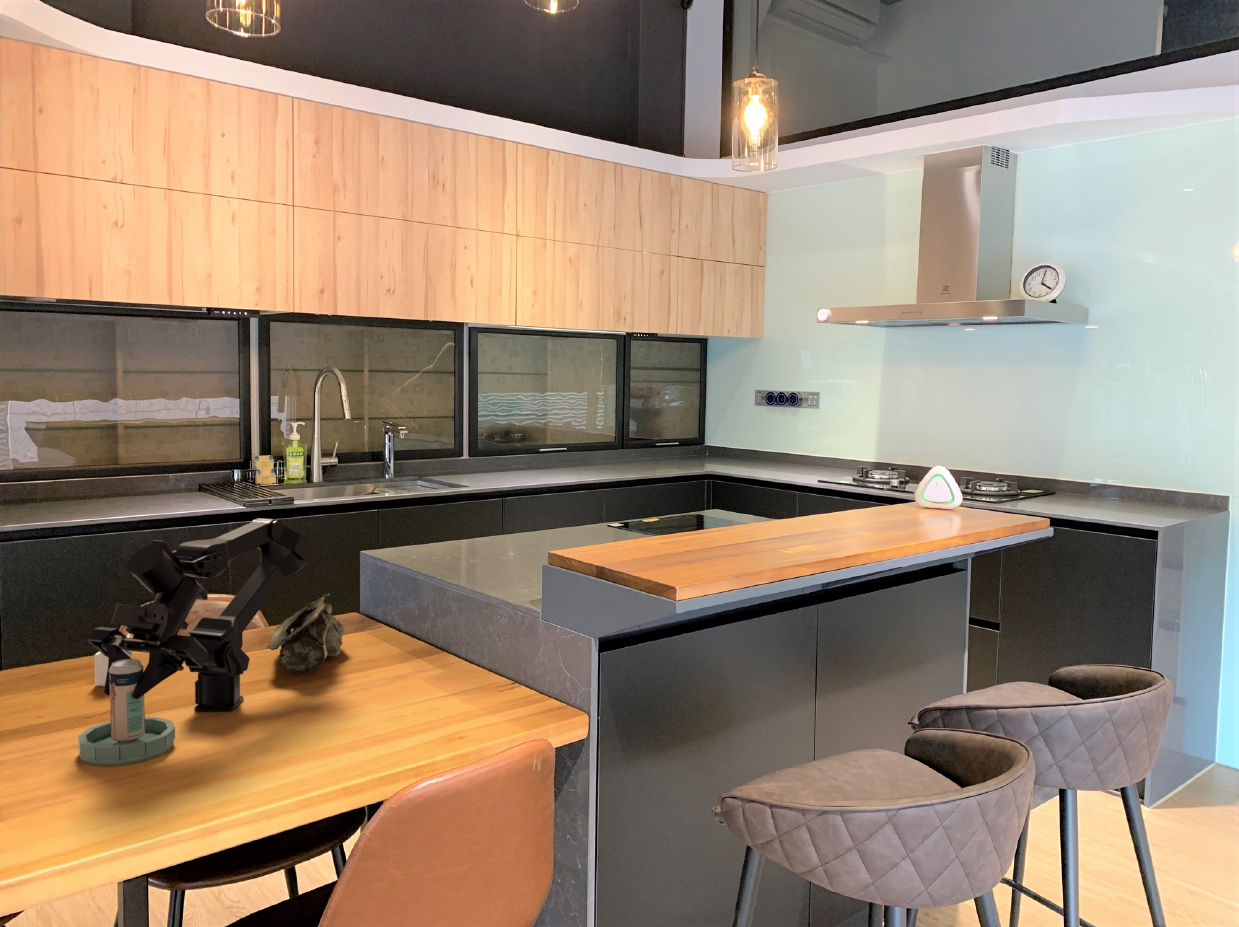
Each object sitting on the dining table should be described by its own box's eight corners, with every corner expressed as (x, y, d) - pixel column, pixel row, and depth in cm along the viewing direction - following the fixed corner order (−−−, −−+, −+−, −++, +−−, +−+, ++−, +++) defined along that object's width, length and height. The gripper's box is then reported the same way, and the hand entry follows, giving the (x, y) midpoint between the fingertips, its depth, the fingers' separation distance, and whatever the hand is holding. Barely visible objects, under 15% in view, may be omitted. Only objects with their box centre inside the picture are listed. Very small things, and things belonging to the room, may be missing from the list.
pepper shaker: (112, 688, 173) (111, 638, 172) (93, 686, 174) (92, 636, 173) (127, 681, 177) (126, 632, 176) (109, 680, 178) (108, 631, 177)
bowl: (186, 733, 152) (186, 716, 152) (153, 765, 139) (152, 747, 139) (104, 733, 151) (103, 717, 151) (62, 766, 138) (61, 748, 138)
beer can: (122, 731, 148) (120, 657, 146) (151, 732, 147) (149, 658, 146) (104, 743, 143) (101, 667, 142) (134, 744, 143) (132, 668, 142)
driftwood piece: (298, 707, 179) (353, 651, 179) (247, 663, 177) (303, 607, 177) (323, 660, 207) (371, 612, 207) (280, 622, 204) (328, 573, 205)
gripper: (94, 577, 149) (37, 664, 139) (193, 586, 144) (142, 677, 135) (133, 614, 157) (82, 699, 148) (228, 623, 153) (182, 712, 143)
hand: (120, 696), depth 143 cm, fingers open, 5 cm apart
